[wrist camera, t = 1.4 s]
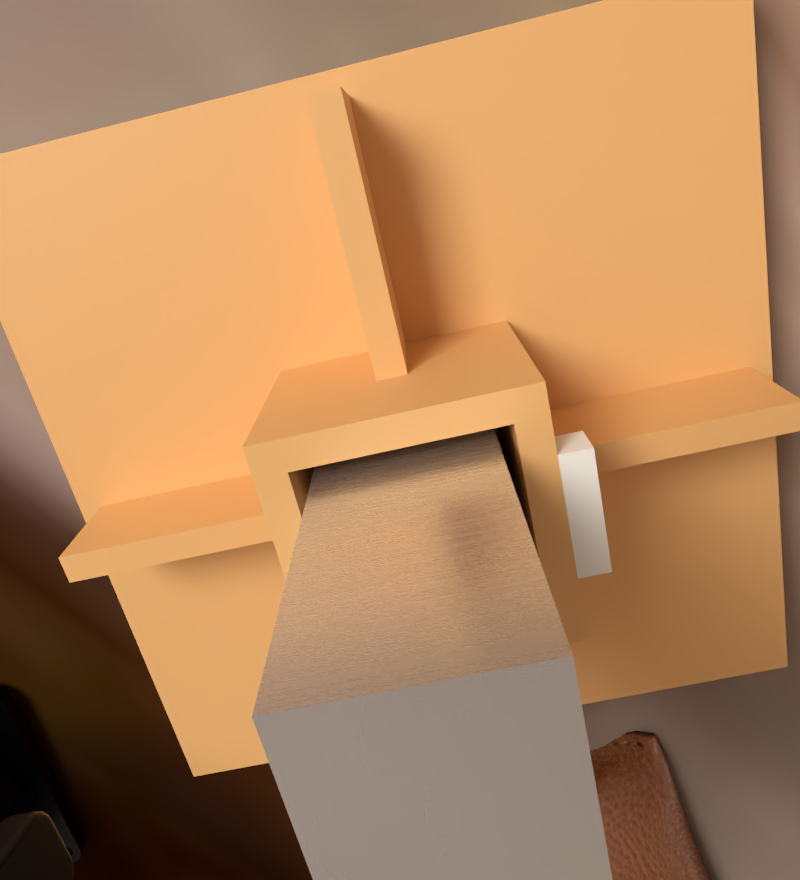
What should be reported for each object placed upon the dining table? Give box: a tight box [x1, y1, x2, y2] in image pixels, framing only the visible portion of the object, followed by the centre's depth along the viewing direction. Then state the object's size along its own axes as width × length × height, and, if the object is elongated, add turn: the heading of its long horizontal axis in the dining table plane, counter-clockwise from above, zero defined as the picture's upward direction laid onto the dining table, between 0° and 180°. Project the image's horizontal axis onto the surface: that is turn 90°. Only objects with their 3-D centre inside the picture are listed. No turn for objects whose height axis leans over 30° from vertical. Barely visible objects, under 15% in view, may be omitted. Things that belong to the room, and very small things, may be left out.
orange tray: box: [0, 0, 800, 777], centre depth 16 cm, size 16×16×6 cm
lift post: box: [252, 428, 613, 880], centre depth 13 cm, size 3×3×10 cm
